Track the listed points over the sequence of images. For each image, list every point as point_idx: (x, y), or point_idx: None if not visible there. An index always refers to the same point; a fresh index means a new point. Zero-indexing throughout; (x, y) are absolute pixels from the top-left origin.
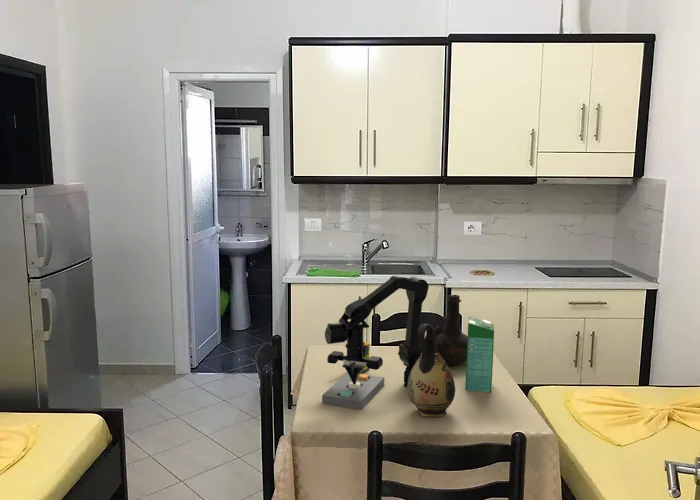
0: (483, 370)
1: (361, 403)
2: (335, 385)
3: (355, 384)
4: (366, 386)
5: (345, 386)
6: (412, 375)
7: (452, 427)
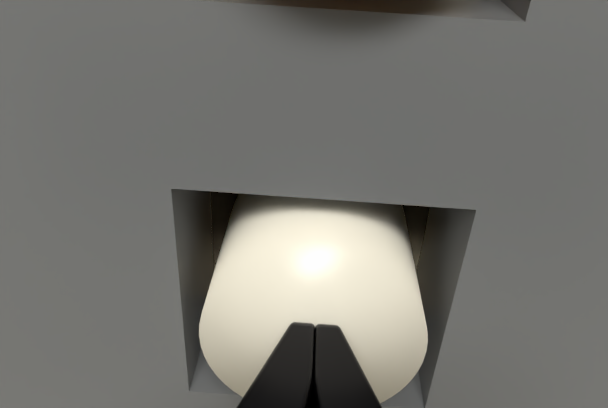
0: None
1: None
2: (13, 373)
3: None
4: (548, 289)
5: (180, 372)
6: None
7: None
